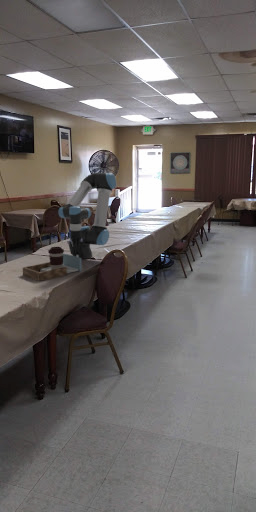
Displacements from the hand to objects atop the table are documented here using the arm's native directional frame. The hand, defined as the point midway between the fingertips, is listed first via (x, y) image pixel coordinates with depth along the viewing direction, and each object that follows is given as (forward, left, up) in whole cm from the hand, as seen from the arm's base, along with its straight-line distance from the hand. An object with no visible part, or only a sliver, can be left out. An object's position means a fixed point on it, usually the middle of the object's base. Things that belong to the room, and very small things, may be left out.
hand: (76, 264), depth 267 cm
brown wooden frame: (+26, 0, -3) cm, 26 cm away
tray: (+13, 0, -3) cm, 14 cm away
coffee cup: (+16, 0, -1) cm, 16 cm away
